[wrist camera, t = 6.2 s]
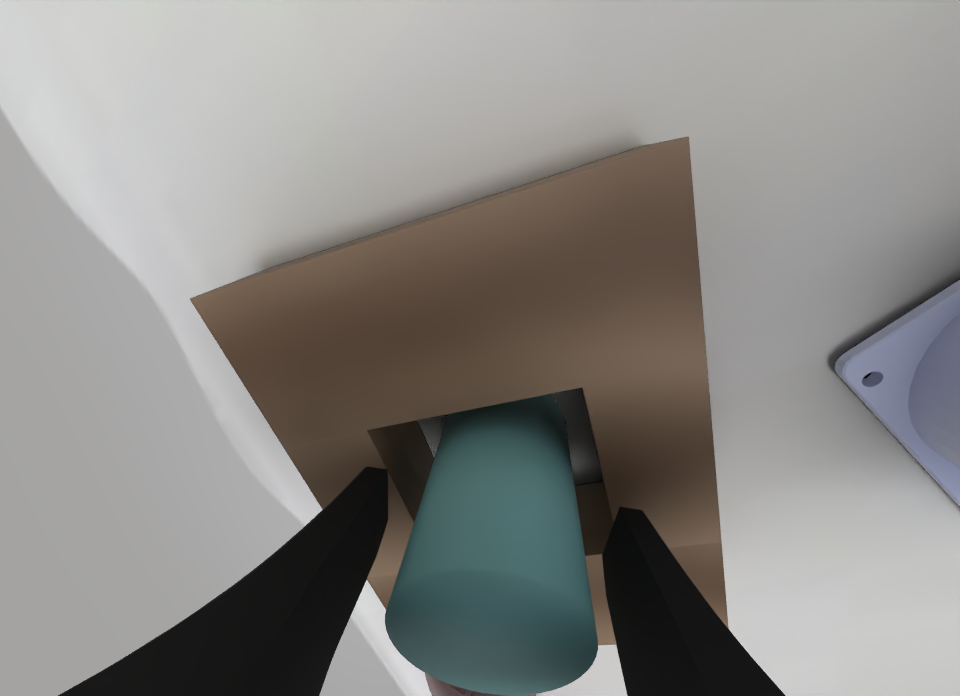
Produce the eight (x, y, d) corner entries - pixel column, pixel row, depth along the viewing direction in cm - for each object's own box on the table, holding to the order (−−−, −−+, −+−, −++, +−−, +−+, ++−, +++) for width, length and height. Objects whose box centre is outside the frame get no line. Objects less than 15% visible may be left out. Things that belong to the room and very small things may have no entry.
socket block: (694, 558, 16) (729, 638, 13) (430, 583, 19) (414, 654, 16) (643, 145, 10) (689, 136, 7) (262, 270, 12) (189, 298, 10)
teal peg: (591, 431, 14) (645, 652, 7) (508, 491, 15) (495, 713, 9) (501, 355, 13) (478, 534, 7) (424, 428, 15) (346, 626, 8)
